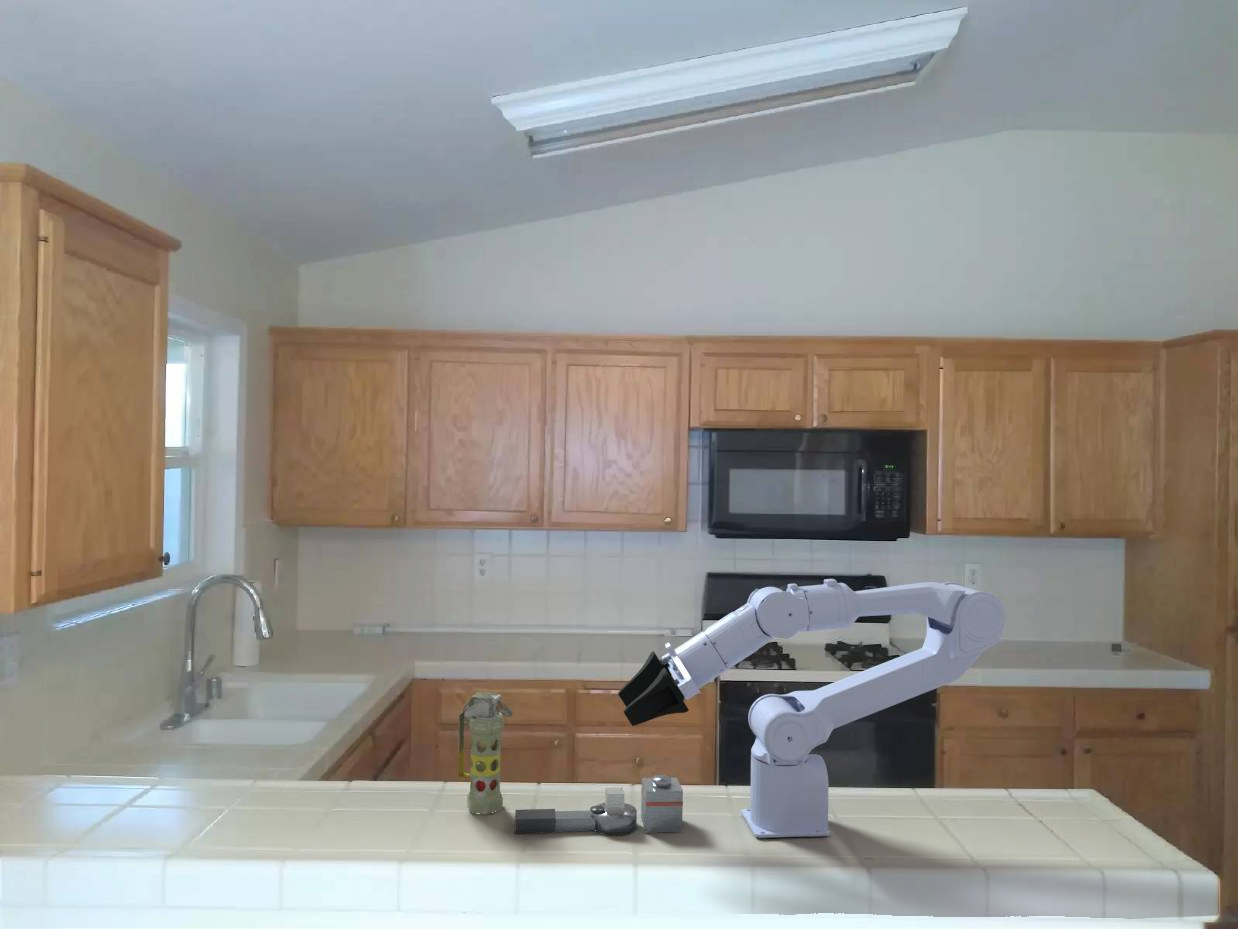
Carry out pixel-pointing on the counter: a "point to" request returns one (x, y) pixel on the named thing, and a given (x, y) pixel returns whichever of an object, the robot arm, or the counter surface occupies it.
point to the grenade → (483, 751)
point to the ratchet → (582, 817)
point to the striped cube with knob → (661, 804)
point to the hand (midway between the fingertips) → (624, 709)
